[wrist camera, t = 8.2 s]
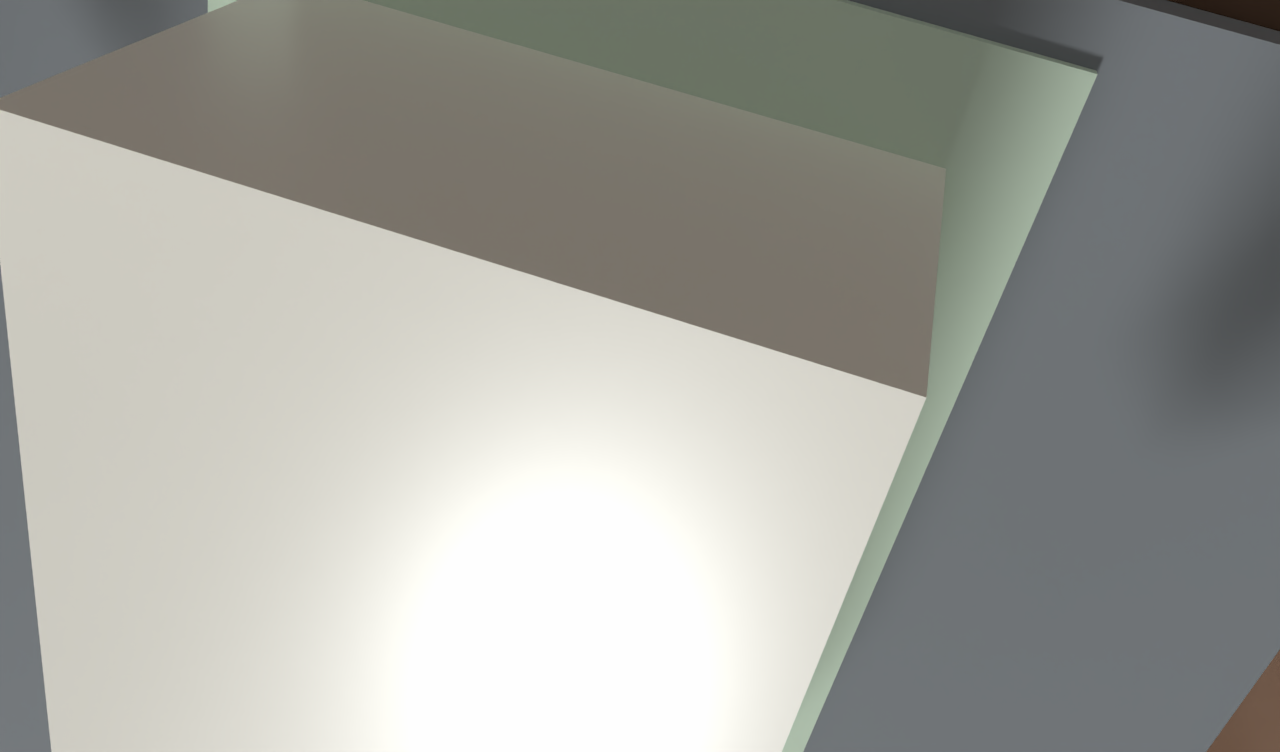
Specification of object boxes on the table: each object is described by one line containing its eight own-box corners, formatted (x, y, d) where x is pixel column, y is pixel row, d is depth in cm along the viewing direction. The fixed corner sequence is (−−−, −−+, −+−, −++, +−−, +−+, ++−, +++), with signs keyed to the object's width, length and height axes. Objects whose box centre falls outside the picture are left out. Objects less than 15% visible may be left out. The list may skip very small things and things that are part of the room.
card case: (289, -21, 10) (-43, 116, 7) (945, 169, 9) (925, 417, 6) (262, 656, 14) (54, 933, 11) (706, 813, 13) (620, 1155, 10)
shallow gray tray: (844, 1222, 18) (840, 1266, 17) (26, 900, 19) (0, 933, 19) (1608, 122, 8) (1649, 149, 8) (-133, -358, 10) (-197, -361, 9)
